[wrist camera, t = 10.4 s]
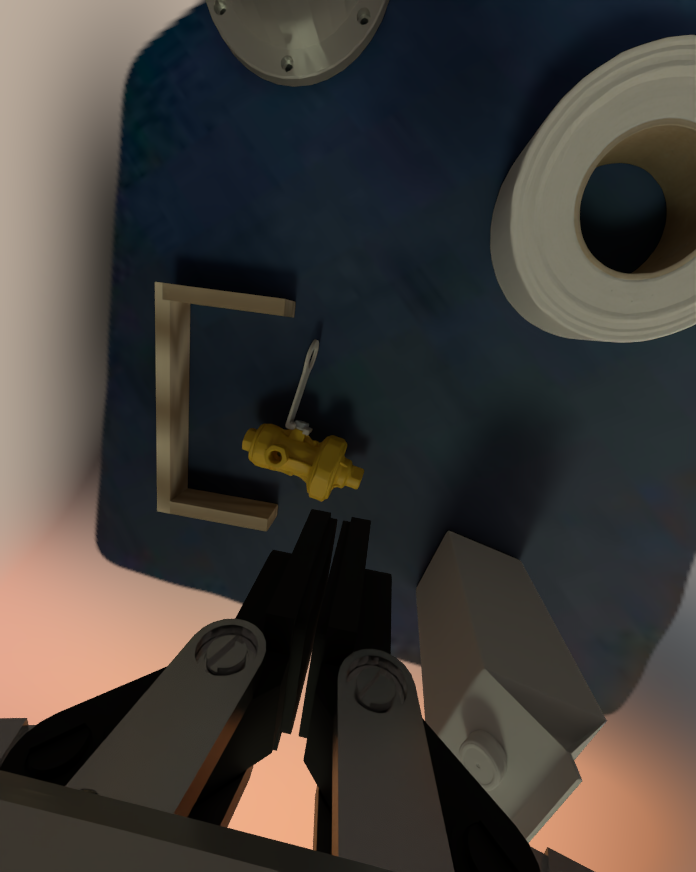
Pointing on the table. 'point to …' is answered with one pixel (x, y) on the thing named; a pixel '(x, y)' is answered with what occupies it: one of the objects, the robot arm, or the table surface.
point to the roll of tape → (563, 188)
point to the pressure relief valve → (303, 449)
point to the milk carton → (502, 681)
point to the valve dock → (175, 405)
